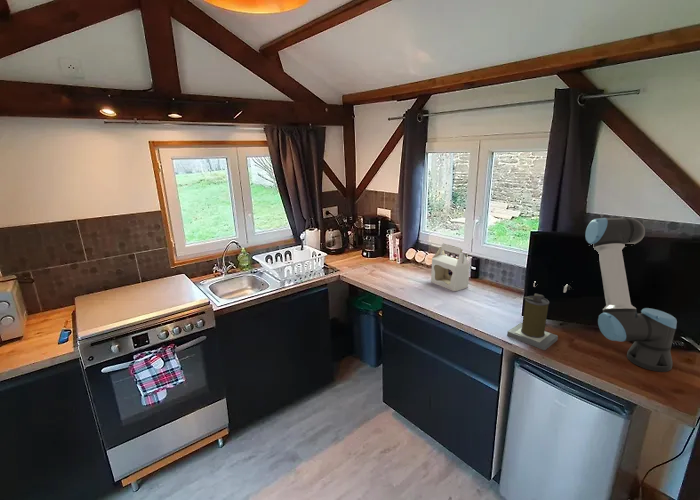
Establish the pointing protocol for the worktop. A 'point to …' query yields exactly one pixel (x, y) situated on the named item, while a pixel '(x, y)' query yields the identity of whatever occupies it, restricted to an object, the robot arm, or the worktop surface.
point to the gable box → (457, 267)
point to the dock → (536, 342)
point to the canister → (534, 316)
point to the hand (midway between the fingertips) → (549, 287)
